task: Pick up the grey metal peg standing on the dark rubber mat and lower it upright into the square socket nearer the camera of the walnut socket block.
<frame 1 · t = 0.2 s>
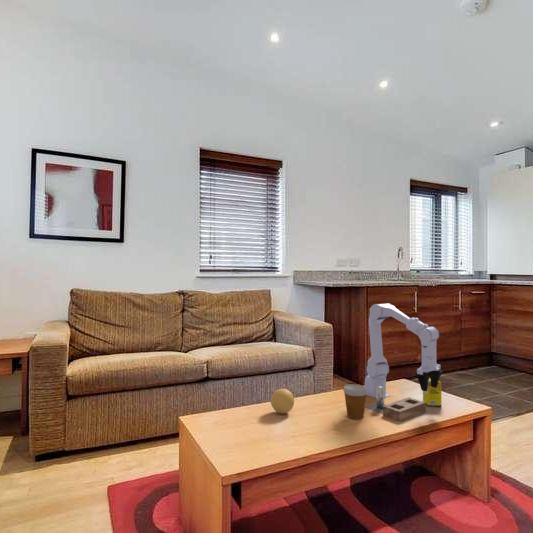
hand: (429, 388, 156), 10 cm above the table, tool pointing down, fingers open, 7 cm apart
stress ball: (282, 413, 157), on the table
supplement box: (432, 405, 166), on the table
disposable coffee cup: (355, 417, 152), on the table
peg: (380, 407, 162), resting on mat
mat: (381, 408, 161), on the table
socket block: (404, 413, 155), on the table
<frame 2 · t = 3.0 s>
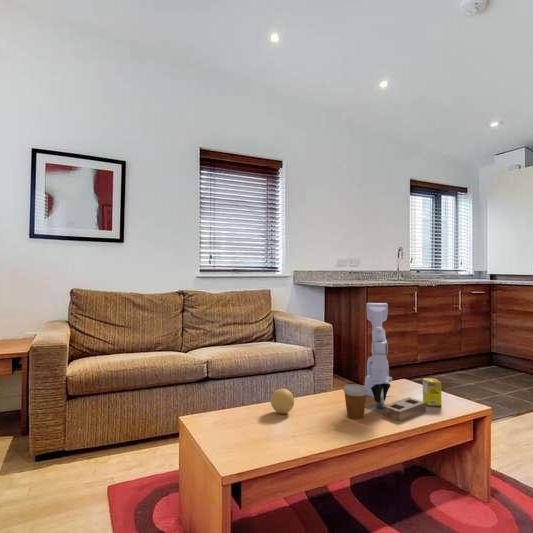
hand: (380, 400, 162), 3 cm above the table, tool pointing down, fingers closed on peg, 3 cm apart
peg: (380, 407, 162), resting on mat, touching gripper
everything else where it was.
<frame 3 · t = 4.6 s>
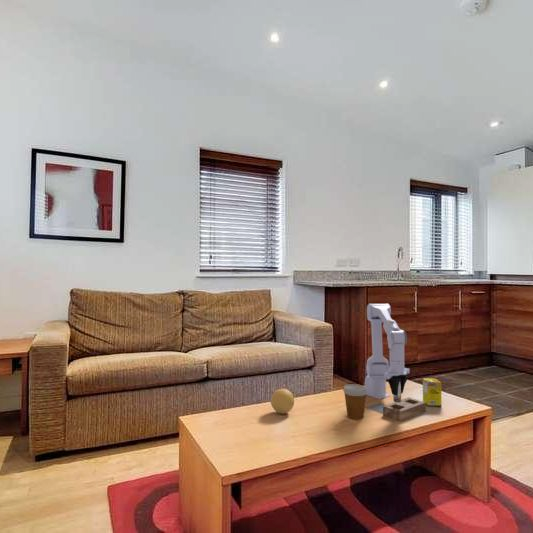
hand: (397, 393, 152), 9 cm above the table, tool pointing down, fingers closed on peg, 3 cm apart
peg: (397, 401, 152), point 6 cm above the table, touching gripper
everything else where it was.
when the fingers open (5 cm above the table, at t = 6.2 s): peg drops 2 cm, resting in socket block.
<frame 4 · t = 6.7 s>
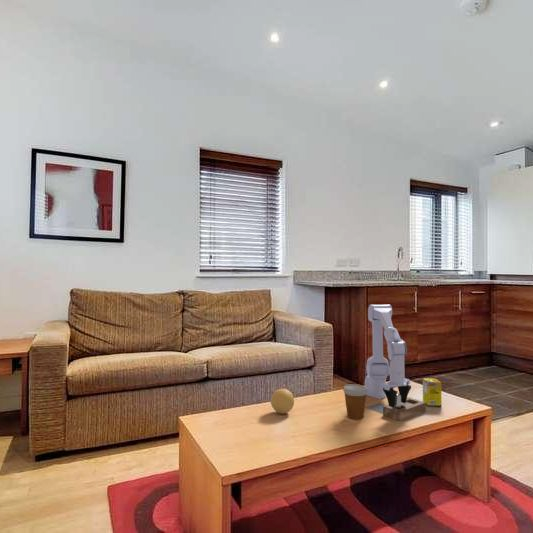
hand: (397, 404, 152), 5 cm above the table, tool pointing down, fingers open, 7 cm apart
peg: (397, 416, 152), resting in socket block
everything else where it was.
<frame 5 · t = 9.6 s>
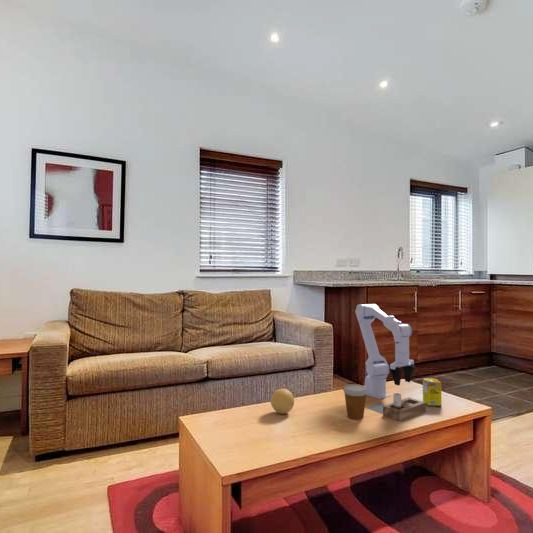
hand: (402, 383, 163), 10 cm above the table, tool pointing down, fingers open, 7 cm apart
nothing on the table moved.
at the end: peg 0.0 cm from the target spot on the socket block, point 0.0 cm above the socket block's base; peg tilted 0°; the gripper is holding nothing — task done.
